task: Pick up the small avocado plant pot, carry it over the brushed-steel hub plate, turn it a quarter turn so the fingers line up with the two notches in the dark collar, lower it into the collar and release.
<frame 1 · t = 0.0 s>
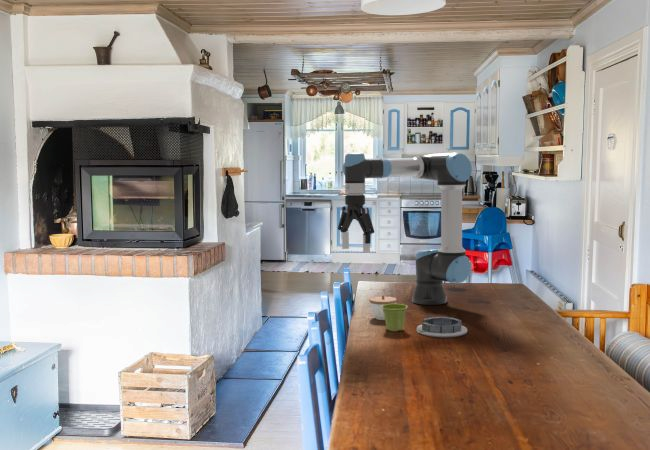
hand: (355, 250, 255), 28 cm above the table, fingers open, 13 cm apart
hub: (441, 331, 243), on the table
plant pot: (394, 330, 247), on the table
lidded jar: (383, 318, 265), on the table
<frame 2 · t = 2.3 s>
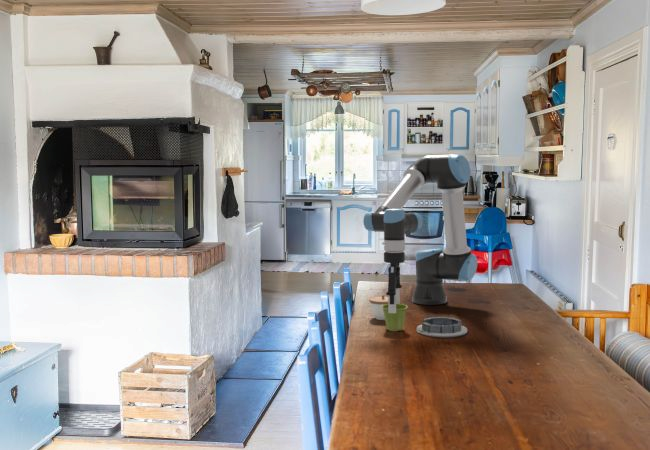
hand: (394, 309, 246), 8 cm above the table, fingers open, 13 cm apart
nothing on the table moved.
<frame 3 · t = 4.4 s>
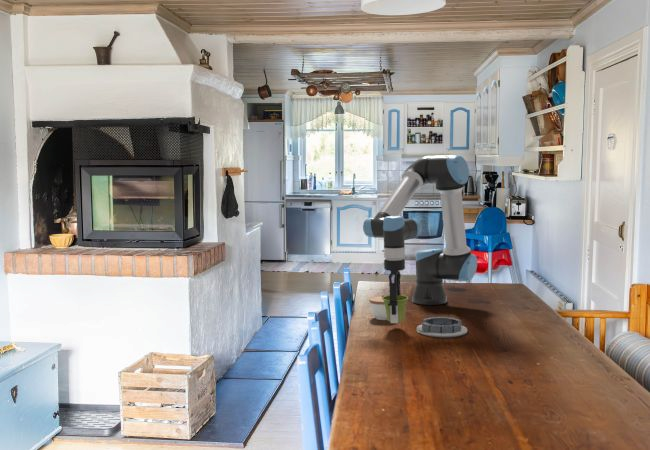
hand: (395, 319, 247), 3 cm above the table, fingers closed on plant pot, 8 cm apart
plant pot: (395, 321, 247), point 3 cm above the table, touching gripper
everything else where it was.
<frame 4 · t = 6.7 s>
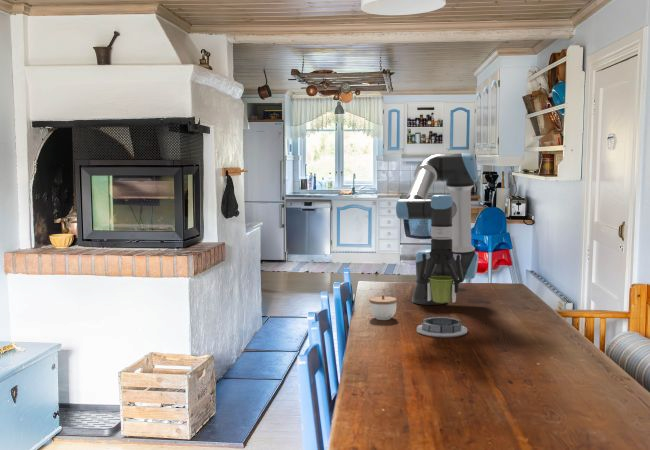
hand: (441, 300, 242), 11 cm above the table, fingers closed on plant pot, 8 cm apart
plant pot: (441, 302, 242), point 11 cm above the table, touching gripper
everything else where it was.
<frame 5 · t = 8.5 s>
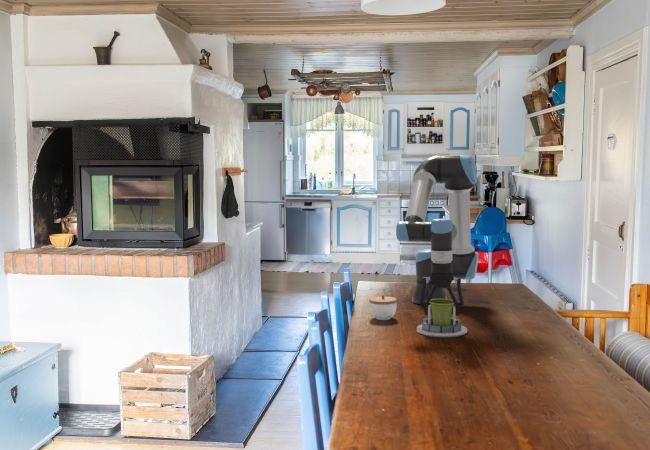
hand: (441, 324, 243), 3 cm above the table, fingers closed on plant pot, 8 cm apart
plant pot: (441, 325, 243), point 2 cm above the table, touching gripper
everything else where it was.
when the fingers open (2 cm above the table, at t = 9.1 s): plant pot moves 3 cm, resting on hub.
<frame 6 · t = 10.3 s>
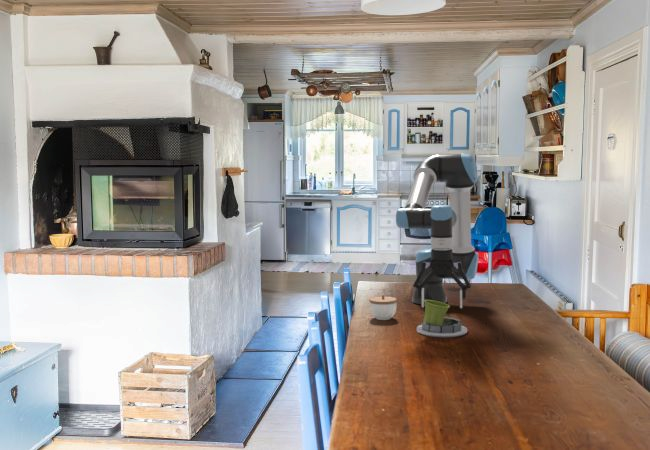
hand: (441, 307, 243), 9 cm above the table, fingers open, 13 cm apart
plant pot: (432, 327, 244), point 1 cm above the table, touching gripper, hub
everything else where it was.
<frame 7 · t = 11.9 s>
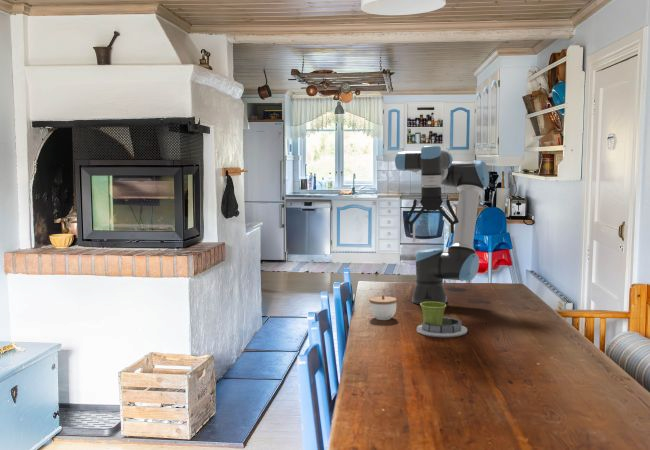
hand: (431, 241, 259), 30 cm above the table, fingers open, 13 cm apart
plant pot: (432, 328, 244), point 1 cm above the table, touching hub
everything else where it was.
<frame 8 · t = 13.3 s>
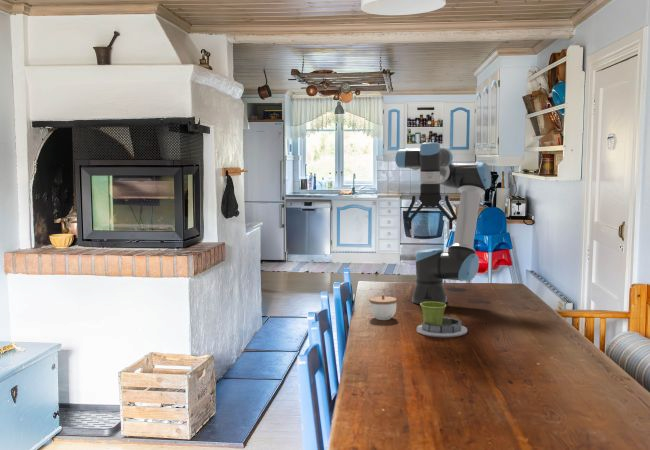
hand: (430, 238, 260), 32 cm above the table, fingers open, 13 cm apart
nothing on the table moved.
at the end: plant pot 3.2 cm off-centre on the hub, point 0.9 cm above the hub's base; plant pot tilted 1°; the gripper is holding nothing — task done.
